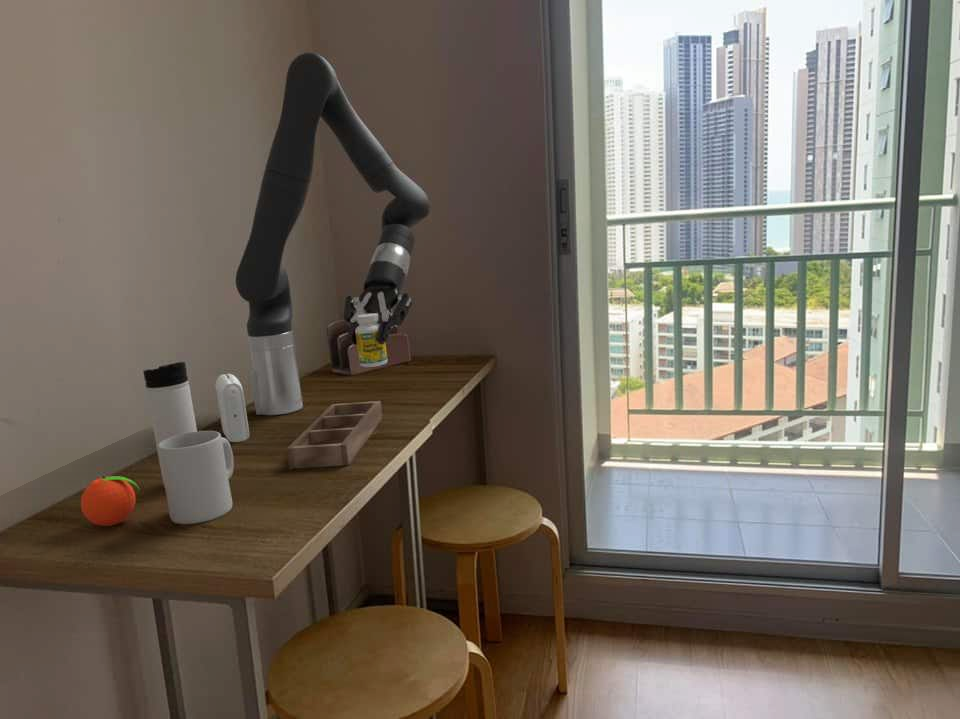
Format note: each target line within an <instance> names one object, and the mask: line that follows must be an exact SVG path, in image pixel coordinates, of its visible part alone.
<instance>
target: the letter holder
mask: <svg viewBox="0 0 960 719" xmlns="http://www.w3.org/2000/svg"><path fill="white" fill-rule="evenodd" d="M378 318H379V321H378V324H380V323H381V322H383V320H382V315H378ZM349 329H350V327H349V325H348V324H347V323H346V322H345V320H344V319H343V318H342V319H340V320H337V321H334V322H331V323H329V324H328V325H327V326H326V336H327V337H326V338H327V345H328V354H329V360H330V368H331V373H334V374H339V375H345V376H351V377H353V376H355V375H360V374H363V373H368V372H371V371H376V370H380V369H381V370H382V369H383V368H388V367H393V366H396V365H399V364H405V363H408V362H411V361H412V358H411V351H410V344H409V337H408V335H407V334H406V333H399V330H398V325H394V326H393V327H392V328H391V330H390V333H389V336H388V339H387V341H385V344H386V352H387V360H388V361H387V363H386V364H383V365H380V366H374V367H363V366H361V365H360V363H359V355H358V348H357V344H356V345H352V344H351V343H350V341H349V340H348V338H347V335H348V332H349Z"/></svg>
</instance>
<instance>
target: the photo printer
mask: <svg viewBox="0 0 960 719" xmlns="http://www.w3.org/2000/svg"><path fill="white" fill-rule="evenodd" d="M215 390H216V391H215V392H216V397H217V403H218V410H219V415H220V422H221V428H222V429H221V430H222V431H223V435H224V436H225V439H227V440H228V442H229V443H230V442H231V443H240V442H244V441H247V440H248V439H250V429H249V428H250V427H249V422H248V421H249V420H248V415H247V409H246V403H245V396H244V390H243V386H242V384H241V382H240V380H239V379H238V377H236V376H235V375H233V374H232V373H226V374H223V373H222V374H221V375H219V376H218V377H217V378H216V381H215Z"/></svg>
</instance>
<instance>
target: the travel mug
mask: <svg viewBox="0 0 960 719" xmlns="http://www.w3.org/2000/svg"><path fill="white" fill-rule="evenodd" d="M186 367H187V366H186V362H185V361H182V362H181V361H178V362H174V363H170V364H166V365H165V364H164V365H162V366H161V365H160V366H158V368H153V369H149V368H147V369H145V370H143V377H144V378H143V379H144V381H145V390H146V395H147V397H146V398H147V401H148V408H149V412H150V417H151V423H152V428H153V434H154V441H155V444H156V445H155V446H156V452H157V457H158V462H159V466H160V467H159V468H160V472H161V477H162V483H163V484H162V485H163V488H165V484H164V479H163V473H162V468H161V462H160V457H159V451H158V445H159V443H160V442H162V441H164V440H166V439H168V438H170V437H173V436H177V435H180V434H185V433H190V432H197V431H198V429H197V428H198V427H197V424H196V423H197V422H196V417H195V411H194V406H193V400H192V394H191V388H190V384H189V382H190V381H189V378H188V375H187V368H186Z"/></svg>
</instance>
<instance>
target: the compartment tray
mask: <svg viewBox="0 0 960 719" xmlns="http://www.w3.org/2000/svg"><path fill="white" fill-rule="evenodd" d="M382 419H383V410H382V403H381V400H375V401H362V402H360V401H359V402H349V403H348V402H346V403H331V405H330V406H329V407H327V408H326V409H325V410H324V411H323V412H322V413H321V414H320V415H319V416H318V417H317V418H316V419H315V420H314V421H313V422H312V423H311V424H310V425H309V426H308V427H307V428H306V429H305V430H304V431H303V432H302V433H301V434H300V435H299V436H298V437H297V438H296V439H295V440H294V441H293V442H291V444H289V445H288V447H287V448H286V452H287V460H288V467H289V469H290V468H291V469H290V470H292V468H296V469H310V467H311V468H312V469H313V468H324V467H340V466H341V467H343V466H350V465H351V463H352V462H353V460H354V459H355V458H356V456H357V454H358V453H359V452H360V450H361V449H362V448H363V446H364V445H365V443H366V442H367V440H368V439H369V438H370V436H371V435H372V433H373V432H374V431H373V430H375V429H376V428H377V426H378V425H379V423H380V422H381V420H382Z"/></svg>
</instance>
